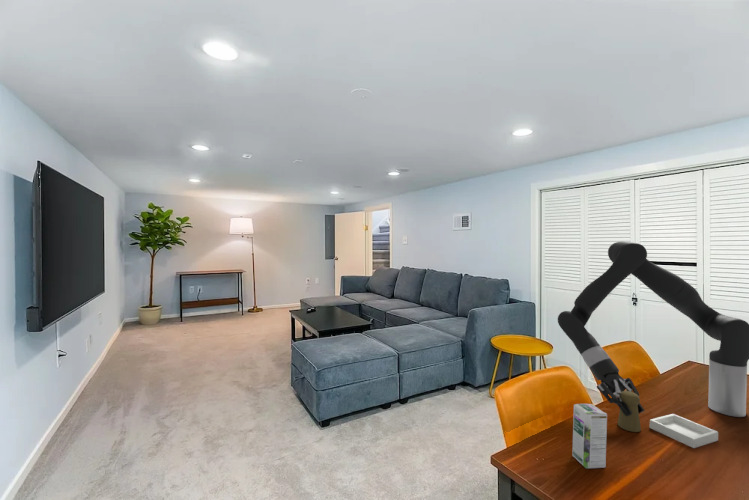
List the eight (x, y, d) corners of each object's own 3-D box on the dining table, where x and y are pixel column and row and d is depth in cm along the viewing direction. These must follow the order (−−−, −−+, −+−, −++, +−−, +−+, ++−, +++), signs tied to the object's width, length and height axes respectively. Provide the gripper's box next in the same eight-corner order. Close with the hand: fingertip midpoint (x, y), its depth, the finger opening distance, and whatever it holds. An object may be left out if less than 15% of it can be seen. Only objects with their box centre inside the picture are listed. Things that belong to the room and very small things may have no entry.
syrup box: (571, 455, 94) (572, 403, 94) (591, 454, 95) (592, 402, 95) (585, 469, 89) (586, 414, 88) (607, 468, 89) (608, 413, 89)
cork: (645, 432, 105) (645, 397, 105) (623, 430, 107) (623, 395, 106) (634, 422, 111) (635, 389, 111) (613, 420, 113) (614, 387, 112)
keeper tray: (672, 421, 113) (673, 413, 113) (717, 440, 102) (718, 431, 102) (649, 427, 109) (649, 419, 109) (693, 448, 98) (694, 439, 98)
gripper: (591, 360, 113) (628, 413, 102) (621, 355, 118) (660, 405, 107) (577, 370, 118) (611, 421, 107) (606, 365, 123) (641, 414, 112)
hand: (635, 413), depth 107 cm, fingers closed on cork, 5 cm apart
